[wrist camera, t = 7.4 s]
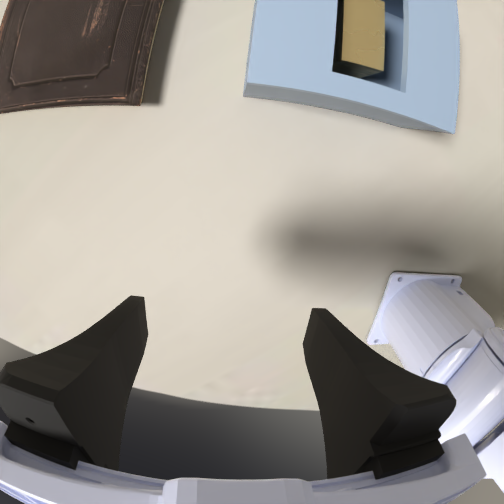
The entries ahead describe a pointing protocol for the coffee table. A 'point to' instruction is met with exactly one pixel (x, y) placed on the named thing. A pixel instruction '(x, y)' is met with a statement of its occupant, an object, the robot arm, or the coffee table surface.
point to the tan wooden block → (359, 38)
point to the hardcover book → (75, 52)
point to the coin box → (369, 87)
